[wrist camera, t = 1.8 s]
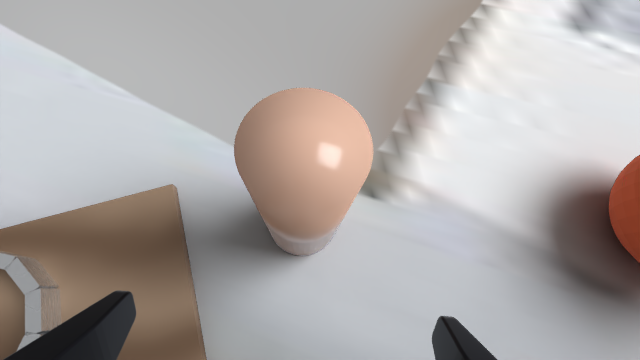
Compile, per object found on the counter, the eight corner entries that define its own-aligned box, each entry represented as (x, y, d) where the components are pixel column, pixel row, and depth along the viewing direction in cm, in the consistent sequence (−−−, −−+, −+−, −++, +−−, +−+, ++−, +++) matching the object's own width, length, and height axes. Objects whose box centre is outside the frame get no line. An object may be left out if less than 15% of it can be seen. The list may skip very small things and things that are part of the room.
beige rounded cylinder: (345, 243, 22) (394, 189, 10) (279, 264, 21) (252, 231, 10) (324, 181, 23) (346, 75, 12) (261, 199, 22) (221, 104, 11)
